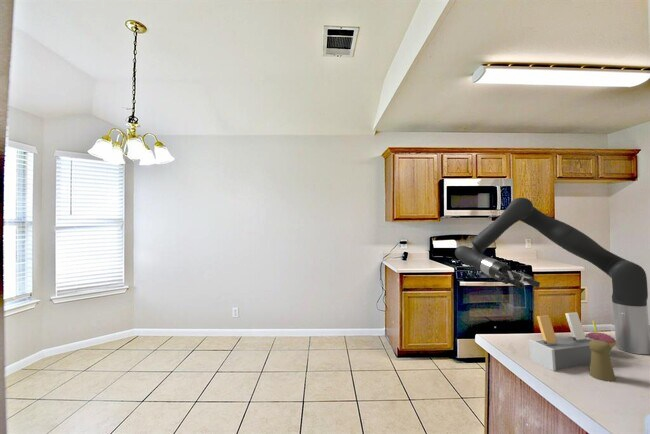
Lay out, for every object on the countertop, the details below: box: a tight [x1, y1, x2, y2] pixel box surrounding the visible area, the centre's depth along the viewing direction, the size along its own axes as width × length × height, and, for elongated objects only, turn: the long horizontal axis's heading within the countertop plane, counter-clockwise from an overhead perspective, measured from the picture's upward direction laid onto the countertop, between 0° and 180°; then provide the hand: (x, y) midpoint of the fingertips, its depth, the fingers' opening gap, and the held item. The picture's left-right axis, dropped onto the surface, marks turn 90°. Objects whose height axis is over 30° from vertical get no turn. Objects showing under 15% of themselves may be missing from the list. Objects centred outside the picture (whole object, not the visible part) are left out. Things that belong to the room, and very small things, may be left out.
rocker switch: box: [564, 311, 586, 340], centre depth 106 cm, size 4×1×9 cm, turn 99°
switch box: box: [528, 336, 593, 372], centre depth 104 cm, size 21×9×7 cm, turn 99°
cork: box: [589, 340, 616, 383], centre depth 93 cm, size 6×6×11 cm
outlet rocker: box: [536, 314, 557, 344], centre depth 104 cm, size 4×1×9 cm, turn 99°
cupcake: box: [585, 318, 617, 356], centre depth 110 cm, size 9×8×12 cm
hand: (531, 285), depth 112 cm, fingers open, 8 cm apart
